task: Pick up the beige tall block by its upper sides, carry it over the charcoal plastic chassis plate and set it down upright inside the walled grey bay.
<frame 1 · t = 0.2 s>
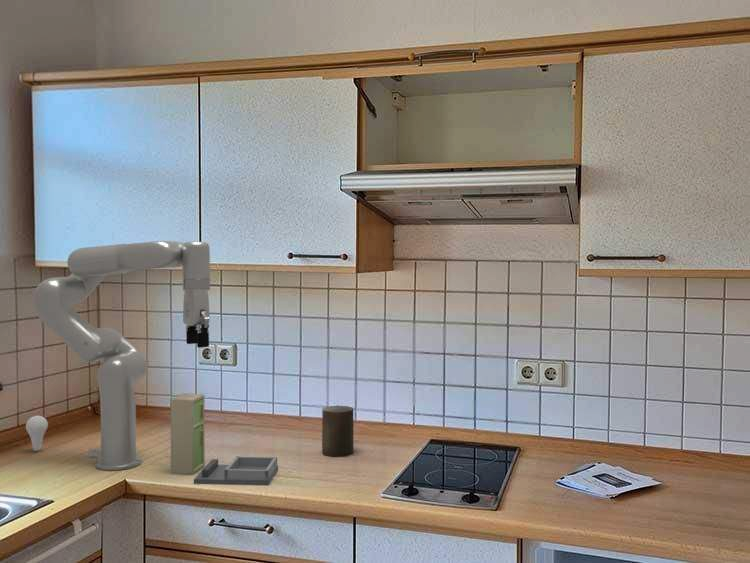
hand: (197, 345, 198), 35 cm above the worktop, tool pointing down, fingers open, 9 cm apart
beige tall block: (189, 470, 196), on the worktop
chassis: (237, 476, 190), on the worktop
pillar candle: (337, 453, 214), on the worktop
lightbulb: (37, 451, 215), on the worktop
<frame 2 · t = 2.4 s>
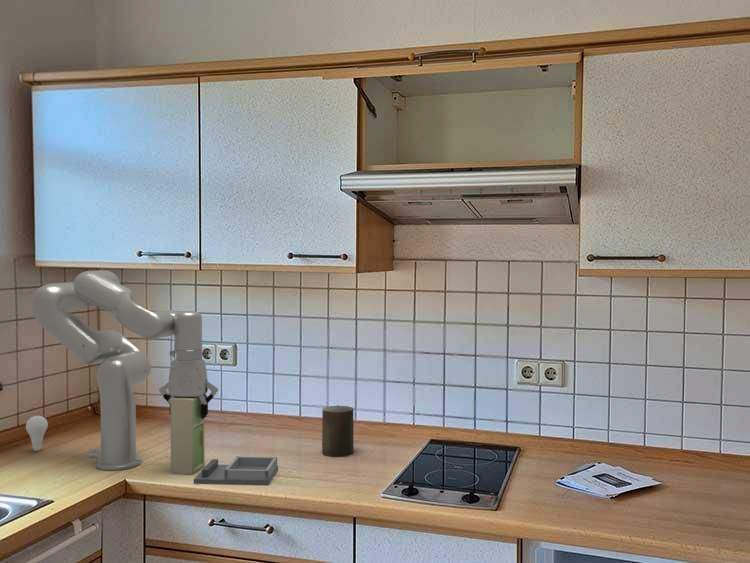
hand: (188, 417, 196), 15 cm above the worktop, tool pointing down, fingers closed on beige tall block, 7 cm apart
beige tall block: (189, 470, 196), on the worktop, touching gripper
everything else where it was.
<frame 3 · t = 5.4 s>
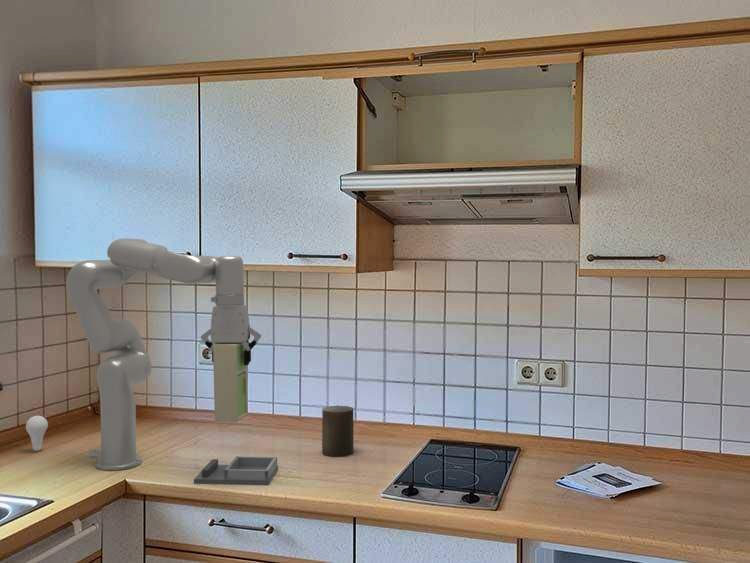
hand: (231, 364, 191), 31 cm above the worktop, tool pointing down, fingers closed on beige tall block, 7 cm apart
beige tall block: (232, 419, 191), point 15 cm above the worktop, touching gripper
everything else where it was.
when the fingers open (17 cm above the worktop, at t = 8.8 s): beige tall block drops 1 cm, resting on chassis.
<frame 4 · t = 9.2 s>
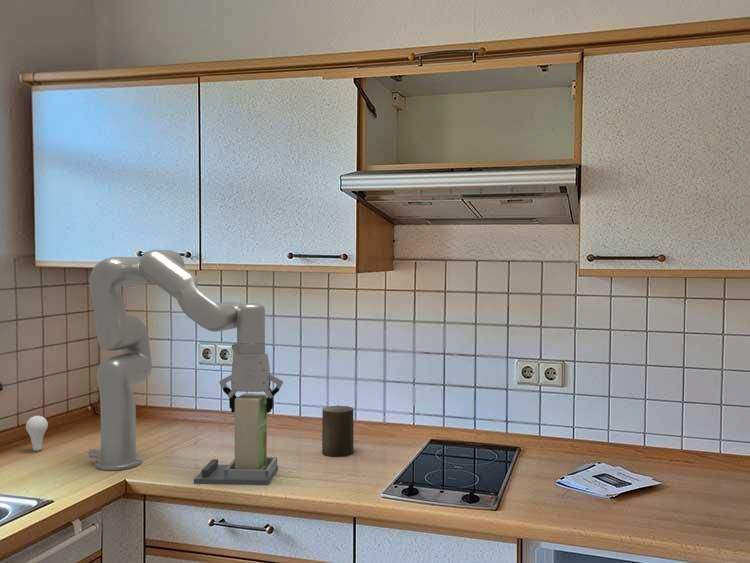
hand: (251, 411, 190), 18 cm above the worktop, tool pointing down, fingers open, 9 cm apart
beige tall block: (252, 472, 190), point 1 cm above the worktop, touching chassis
everything else where it was.
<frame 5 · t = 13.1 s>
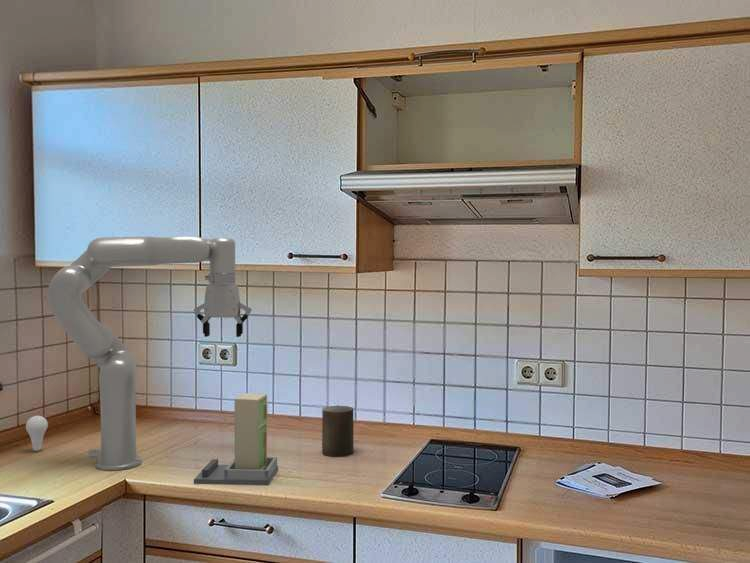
hand: (222, 336, 209), 36 cm above the worktop, tool pointing down, fingers open, 9 cm apart
nothing on the worktop moved.
at the end: beige tall block 0.2 cm from the target spot on the chassis, point 1.0 cm above the chassis's base; beige tall block tilted 0°; the gripper is holding nothing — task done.
